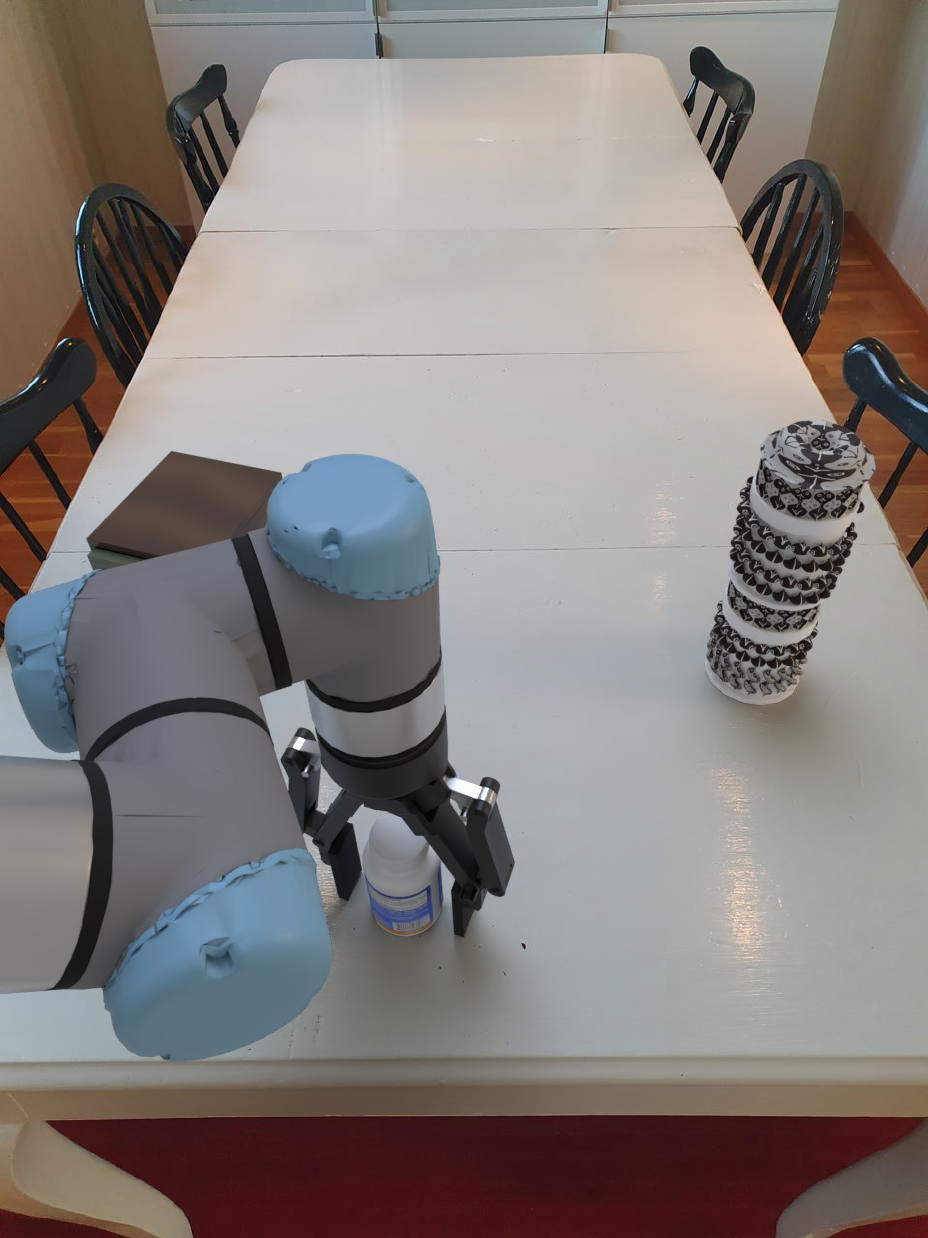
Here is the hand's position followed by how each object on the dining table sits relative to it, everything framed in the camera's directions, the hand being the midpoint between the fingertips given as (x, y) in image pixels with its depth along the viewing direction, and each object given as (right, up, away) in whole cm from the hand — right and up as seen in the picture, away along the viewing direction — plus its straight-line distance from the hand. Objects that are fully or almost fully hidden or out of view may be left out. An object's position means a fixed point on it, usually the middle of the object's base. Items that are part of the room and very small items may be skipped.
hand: (406, 901), depth 67 cm
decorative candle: (+30, +16, +16) cm, 38 cm away
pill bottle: (0, 0, 0) cm, 0 cm away
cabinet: (-22, +25, +26) cm, 42 cm away
